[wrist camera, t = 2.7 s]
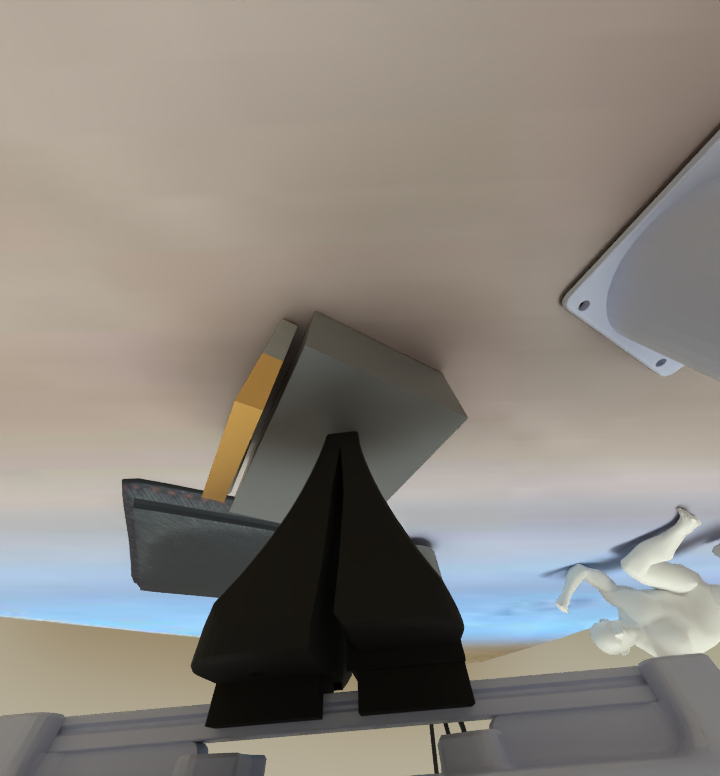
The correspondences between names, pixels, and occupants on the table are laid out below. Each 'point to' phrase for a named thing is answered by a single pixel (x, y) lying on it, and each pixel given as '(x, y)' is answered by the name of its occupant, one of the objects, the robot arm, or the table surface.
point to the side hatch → (247, 414)
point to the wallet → (188, 539)
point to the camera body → (346, 417)
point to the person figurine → (654, 599)
